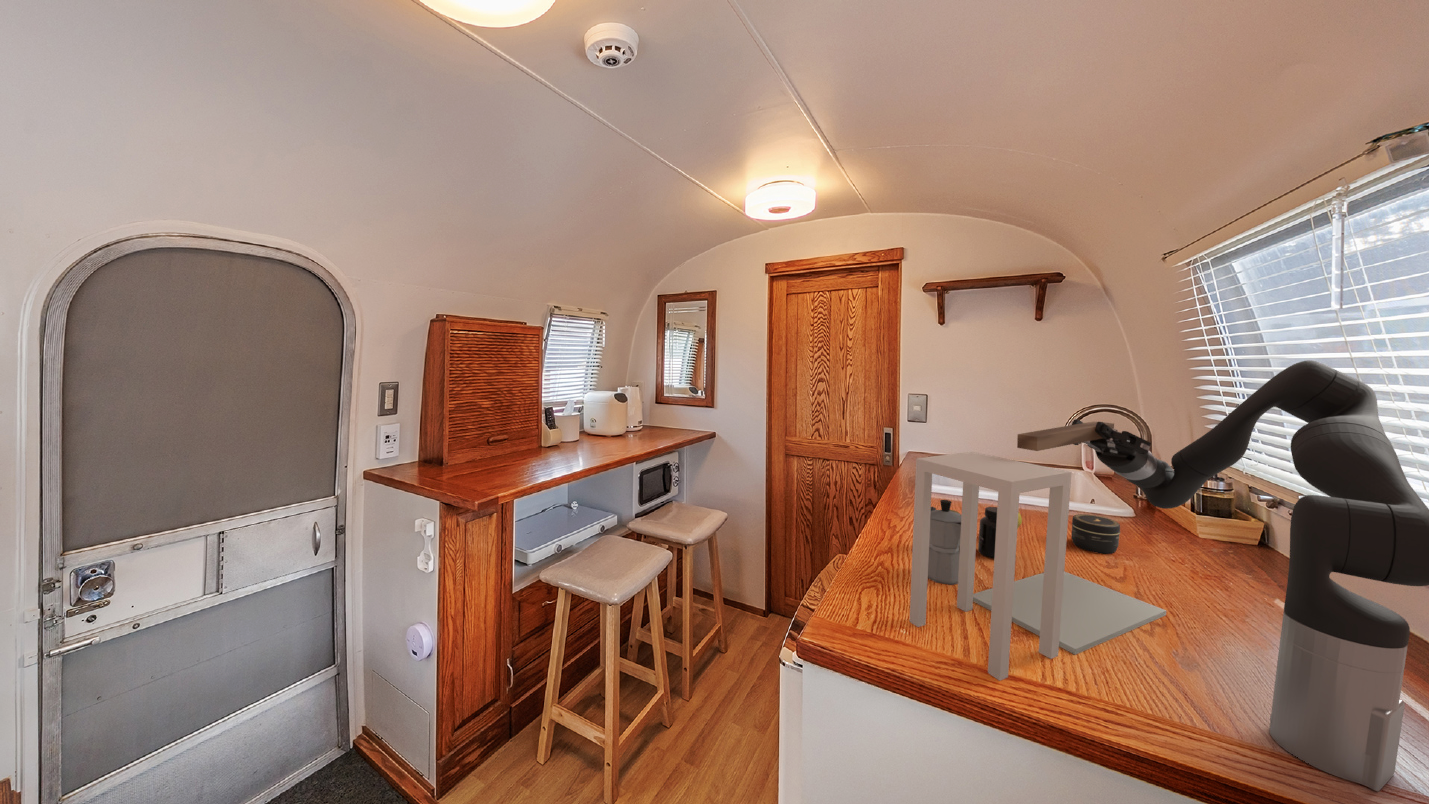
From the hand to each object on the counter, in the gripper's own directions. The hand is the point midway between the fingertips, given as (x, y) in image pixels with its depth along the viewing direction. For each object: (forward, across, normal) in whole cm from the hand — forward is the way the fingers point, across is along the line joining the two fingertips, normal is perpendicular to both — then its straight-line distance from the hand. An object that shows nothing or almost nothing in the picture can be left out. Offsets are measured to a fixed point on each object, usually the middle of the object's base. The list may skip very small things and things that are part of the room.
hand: (1086, 425), depth 93 cm
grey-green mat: (-14, 0, +35) cm, 37 cm away
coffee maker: (-4, -21, +40) cm, 45 cm away
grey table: (+8, 0, +46) cm, 47 cm away
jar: (-50, -16, +16) cm, 55 cm away
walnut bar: (+4, 0, +5) cm, 7 cm away
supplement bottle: (-24, -23, +30) cm, 45 cm away
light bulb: (-33, -27, +25) cm, 50 cm away
